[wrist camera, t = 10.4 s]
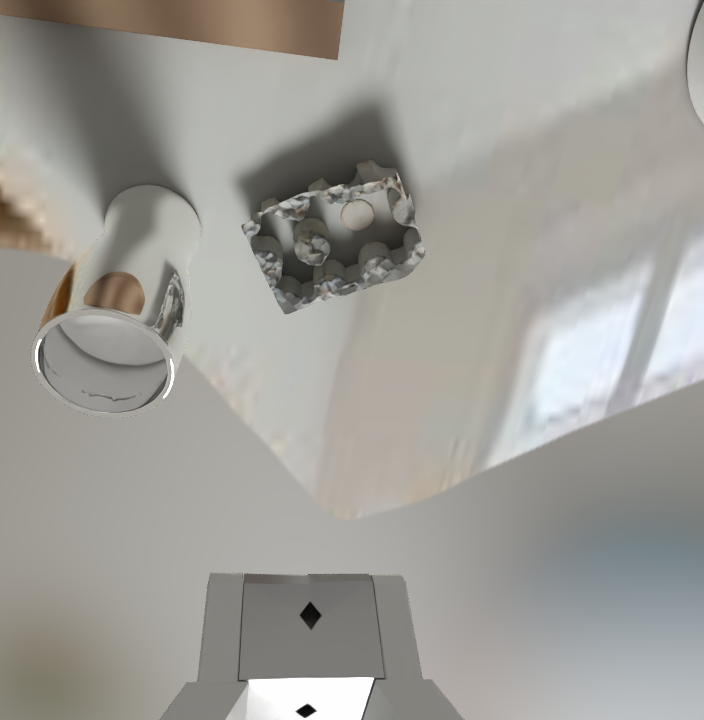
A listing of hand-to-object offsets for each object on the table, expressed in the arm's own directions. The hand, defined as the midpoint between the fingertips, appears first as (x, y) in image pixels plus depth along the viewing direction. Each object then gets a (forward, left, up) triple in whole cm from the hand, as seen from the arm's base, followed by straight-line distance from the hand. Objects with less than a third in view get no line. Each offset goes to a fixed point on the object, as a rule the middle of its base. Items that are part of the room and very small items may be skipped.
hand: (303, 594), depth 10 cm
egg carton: (-4, +10, -35) cm, 36 cm away
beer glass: (+8, +11, -34) cm, 37 cm away
